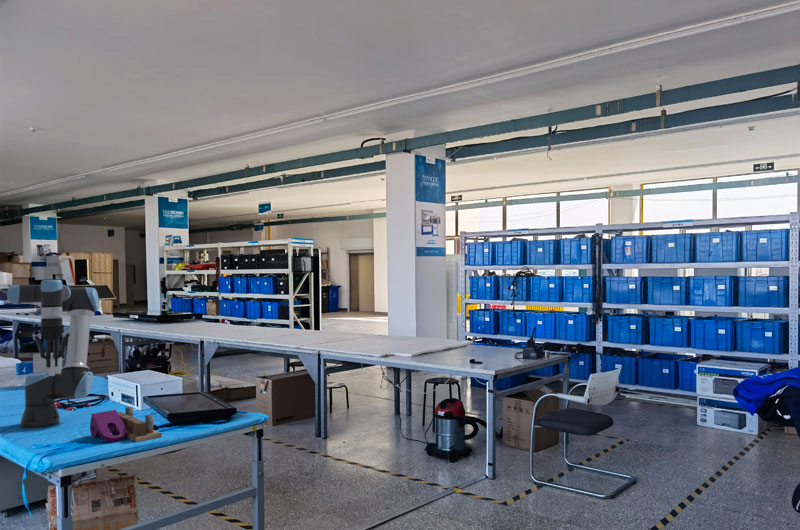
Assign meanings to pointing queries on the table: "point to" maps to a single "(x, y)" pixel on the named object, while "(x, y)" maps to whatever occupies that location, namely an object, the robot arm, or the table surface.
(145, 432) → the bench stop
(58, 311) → the robot arm
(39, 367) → the hard drive box
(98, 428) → the mounting bracket
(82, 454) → the table surface
